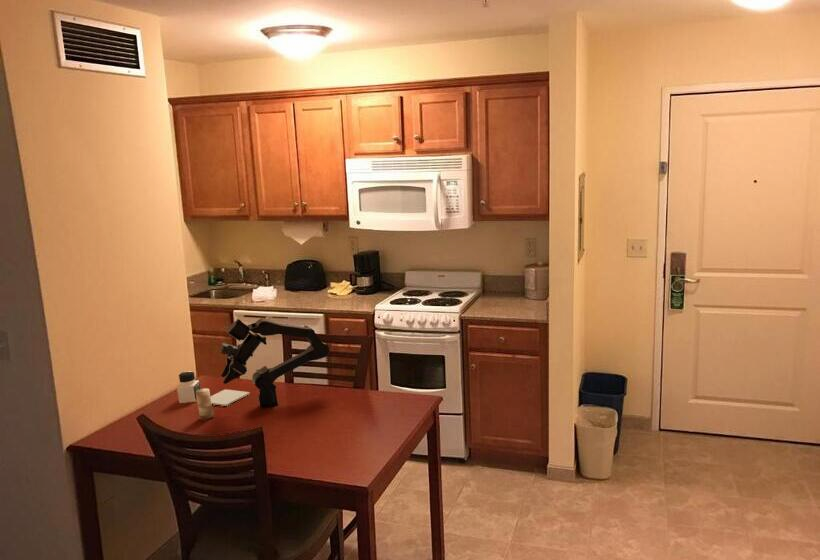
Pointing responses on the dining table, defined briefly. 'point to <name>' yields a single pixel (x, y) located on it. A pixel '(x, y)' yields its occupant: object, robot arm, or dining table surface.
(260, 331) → the robot arm
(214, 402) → the white square tile
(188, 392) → the medicine bottle
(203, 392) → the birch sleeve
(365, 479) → the dining table surface
